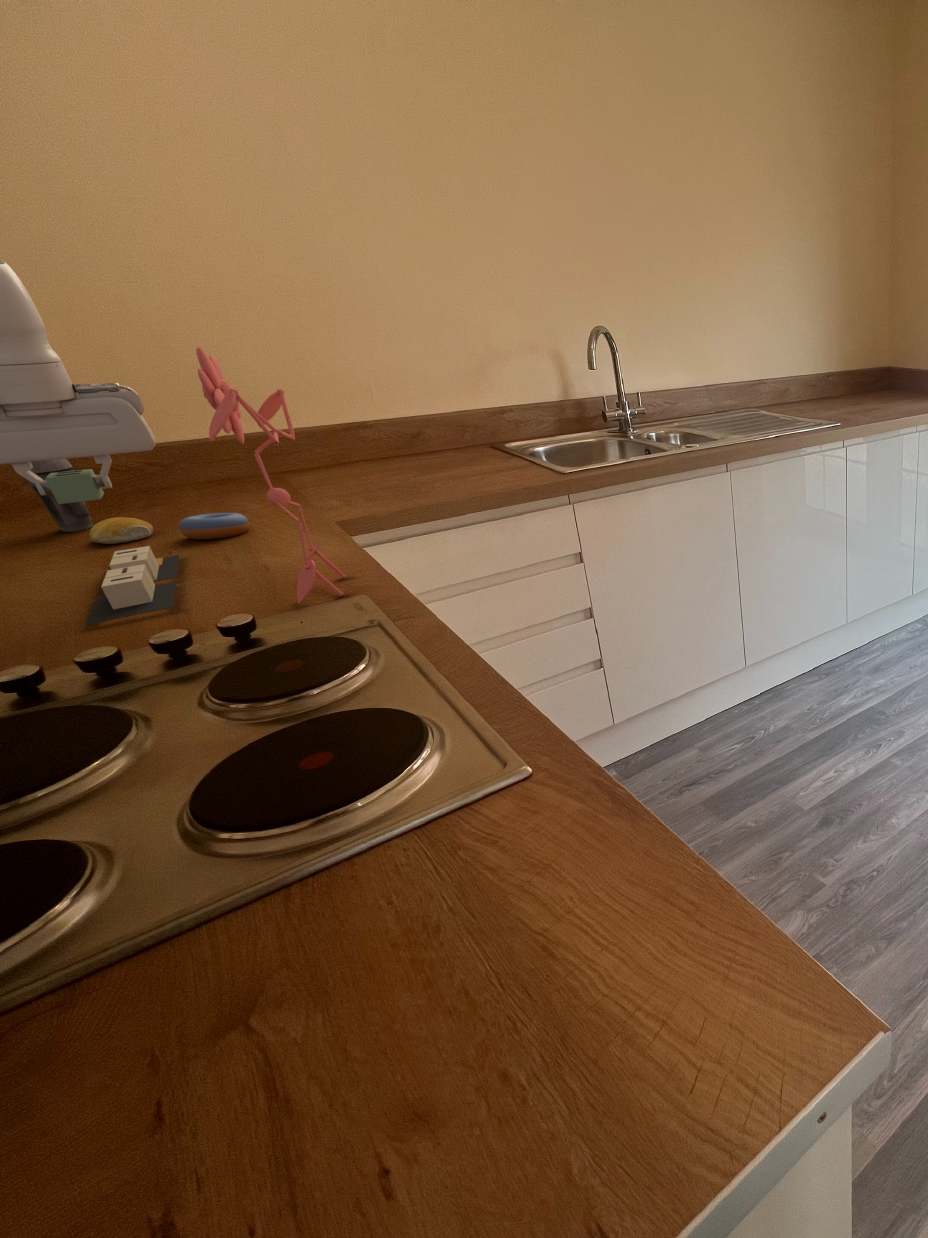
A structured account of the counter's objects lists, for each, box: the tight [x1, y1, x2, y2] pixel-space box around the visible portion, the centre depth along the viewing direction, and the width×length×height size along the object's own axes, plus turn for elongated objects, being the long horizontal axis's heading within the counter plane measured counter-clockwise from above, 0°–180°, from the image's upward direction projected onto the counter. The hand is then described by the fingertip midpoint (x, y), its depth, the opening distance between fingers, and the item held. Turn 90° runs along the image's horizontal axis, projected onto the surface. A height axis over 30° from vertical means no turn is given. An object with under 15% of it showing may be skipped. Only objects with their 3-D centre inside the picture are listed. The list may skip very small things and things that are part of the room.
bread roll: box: [89, 516, 154, 545], centre depth 132 cm, size 8×9×4 cm
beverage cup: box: [23, 458, 94, 533], centre depth 135 cm, size 7×7×20 cm
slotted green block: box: [45, 468, 105, 504], centre depth 97 cm, size 4×4×4 cm
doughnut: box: [178, 512, 250, 541], centre depth 132 cm, size 10×10×5 cm
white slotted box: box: [100, 572, 154, 609], centre depth 102 cm, size 4×4×4 cm
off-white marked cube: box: [112, 545, 159, 573], centre depth 113 cm, size 4×4×4 cm
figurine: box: [195, 346, 353, 604], centre depth 98 cm, size 15×26×35 cm, turn 31°
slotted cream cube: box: [108, 553, 158, 582], centre depth 110 cm, size 4×4×4 cm
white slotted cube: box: [104, 564, 156, 593], centre depth 105 cm, size 4×4×4 cm
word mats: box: [85, 554, 180, 625], centre depth 109 cm, size 9×31×1 cm, turn 40°
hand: (77, 491), depth 97 cm, fingers closed on slotted green block, 4 cm apart
